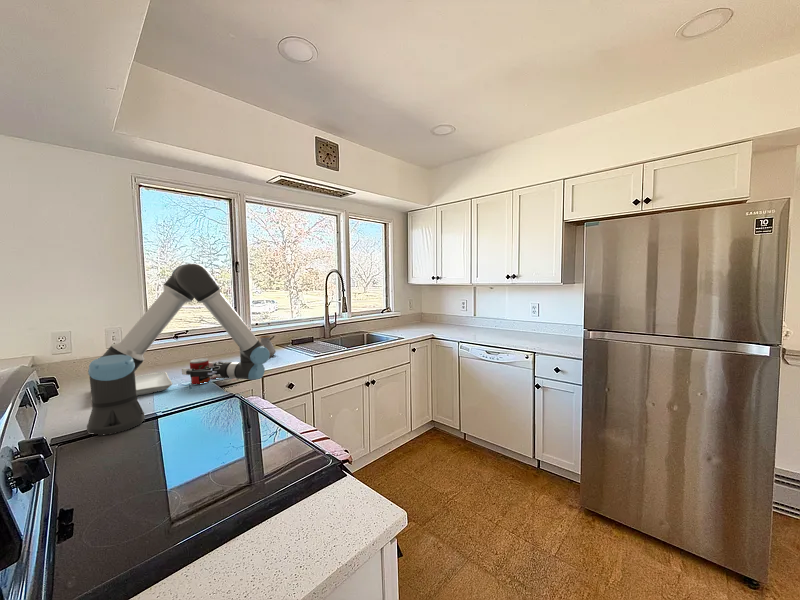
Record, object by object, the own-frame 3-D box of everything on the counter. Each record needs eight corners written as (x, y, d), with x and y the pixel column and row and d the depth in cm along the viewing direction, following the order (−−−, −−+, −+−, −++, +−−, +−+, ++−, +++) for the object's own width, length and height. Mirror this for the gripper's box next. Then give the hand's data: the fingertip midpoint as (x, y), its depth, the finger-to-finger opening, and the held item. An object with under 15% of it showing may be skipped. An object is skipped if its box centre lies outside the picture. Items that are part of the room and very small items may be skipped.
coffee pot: (253, 356, 215) (252, 333, 214) (271, 353, 222) (270, 330, 221) (266, 362, 199) (264, 337, 198) (285, 358, 206) (283, 334, 205)
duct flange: (222, 380, 166) (222, 377, 166) (202, 378, 168) (201, 376, 168) (239, 373, 177) (239, 370, 177) (220, 372, 180) (219, 369, 180)
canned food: (201, 385, 158) (200, 362, 157) (187, 384, 160) (185, 361, 159) (213, 380, 166) (212, 358, 165) (199, 379, 167) (198, 357, 166)
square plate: (94, 390, 155) (93, 382, 155) (166, 378, 172) (166, 370, 172) (91, 407, 134) (90, 398, 134) (173, 391, 152) (172, 382, 151)
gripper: (213, 385, 147) (171, 383, 152) (248, 371, 170) (211, 369, 175) (212, 369, 146) (170, 366, 152) (248, 356, 169) (210, 354, 174)
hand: (192, 368), depth 163 cm, fingers open, 11 cm apart
